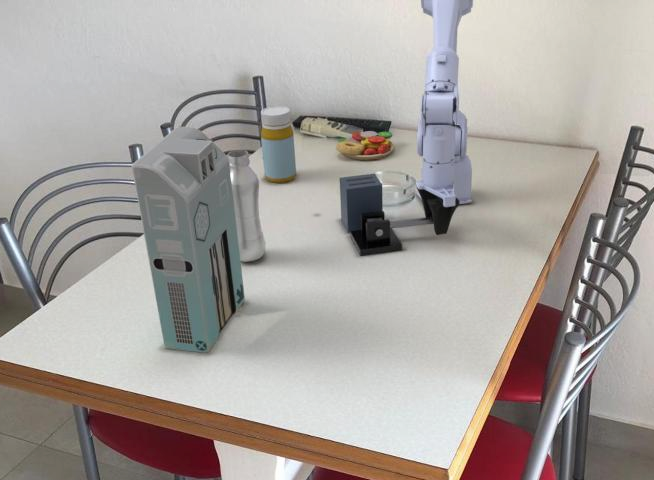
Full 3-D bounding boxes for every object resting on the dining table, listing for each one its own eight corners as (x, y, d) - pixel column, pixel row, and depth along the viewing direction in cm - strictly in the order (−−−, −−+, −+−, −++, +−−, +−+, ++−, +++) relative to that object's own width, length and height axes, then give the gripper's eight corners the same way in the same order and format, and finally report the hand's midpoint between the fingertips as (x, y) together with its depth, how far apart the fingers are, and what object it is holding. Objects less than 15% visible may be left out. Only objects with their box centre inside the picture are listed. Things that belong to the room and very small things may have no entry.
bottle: (300, 173, 194) (296, 106, 186) (289, 185, 189) (284, 117, 180) (272, 170, 196) (266, 104, 188) (260, 182, 191) (253, 114, 182)
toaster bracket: (390, 231, 168) (390, 205, 165) (402, 250, 161) (402, 223, 158) (350, 236, 167) (349, 211, 164) (360, 255, 160) (359, 229, 157)
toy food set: (333, 161, 200) (332, 147, 198) (342, 141, 210) (341, 128, 208) (390, 162, 198) (390, 148, 196) (397, 142, 208) (397, 128, 206)
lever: (435, 220, 167) (435, 208, 165) (443, 230, 163) (444, 219, 161) (364, 227, 164) (364, 215, 163) (371, 238, 160) (371, 226, 159)
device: (210, 354, 134) (182, 168, 117) (164, 348, 136) (130, 165, 119) (245, 302, 147) (225, 128, 130) (203, 298, 149) (178, 125, 132)
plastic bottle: (273, 252, 162) (263, 149, 151) (255, 268, 157) (244, 162, 146) (243, 247, 165) (231, 144, 153) (225, 262, 160) (211, 158, 148)
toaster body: (375, 216, 174) (374, 172, 169) (382, 228, 169) (382, 184, 164) (341, 220, 173) (339, 177, 168) (347, 233, 168) (346, 188, 163)
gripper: (406, 147, 162) (405, 214, 170) (429, 175, 150) (427, 246, 158) (442, 143, 163) (440, 210, 171) (467, 170, 152) (464, 241, 159)
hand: (436, 227), depth 165 cm, fingers closed on lever, 5 cm apart
